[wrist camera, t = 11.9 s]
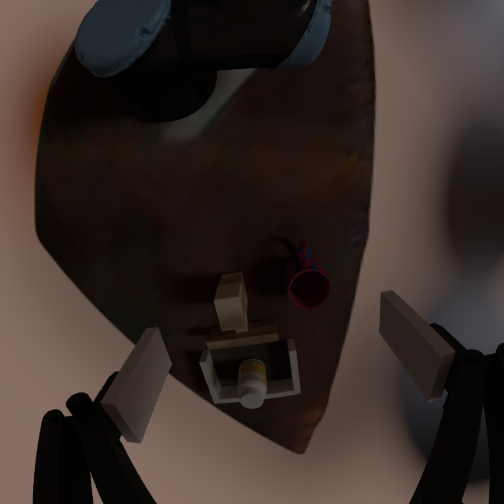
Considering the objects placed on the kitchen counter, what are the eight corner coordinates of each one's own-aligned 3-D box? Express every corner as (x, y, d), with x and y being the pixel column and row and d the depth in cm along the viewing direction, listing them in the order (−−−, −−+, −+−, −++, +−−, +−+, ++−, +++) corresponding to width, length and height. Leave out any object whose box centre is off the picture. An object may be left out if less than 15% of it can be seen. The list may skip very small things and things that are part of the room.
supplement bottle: (248, 353, 51) (246, 386, 42) (271, 364, 52) (273, 397, 42) (233, 370, 52) (230, 403, 43) (256, 381, 53) (256, 414, 43)
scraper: (197, 278, 47) (184, 304, 37) (267, 267, 46) (270, 291, 37) (212, 334, 50) (204, 367, 40) (276, 325, 49) (281, 358, 39)
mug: (282, 293, 47) (286, 311, 41) (283, 236, 45) (288, 246, 38) (320, 292, 47) (329, 309, 41) (323, 236, 45) (335, 246, 38)
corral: (202, 350, 51) (199, 362, 47) (293, 338, 50) (295, 350, 46) (216, 390, 54) (214, 403, 50) (298, 380, 53) (300, 393, 49)
